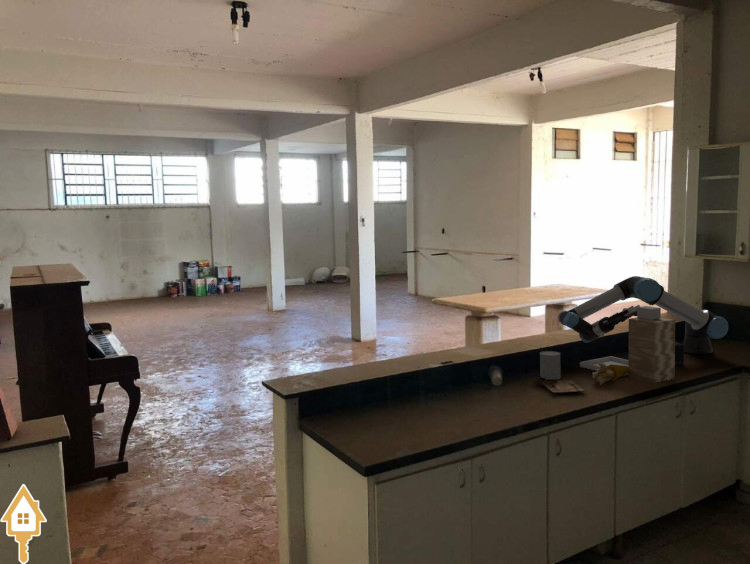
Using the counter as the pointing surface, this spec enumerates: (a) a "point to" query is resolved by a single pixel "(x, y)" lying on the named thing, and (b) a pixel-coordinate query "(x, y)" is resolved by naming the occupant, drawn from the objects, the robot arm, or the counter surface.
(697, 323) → the robot arm
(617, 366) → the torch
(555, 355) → the grey cylinder
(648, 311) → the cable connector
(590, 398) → the counter surface
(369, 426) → the counter surface
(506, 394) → the counter surface
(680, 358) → the small box
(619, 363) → the tray
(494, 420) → the counter surface
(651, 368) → the stand
